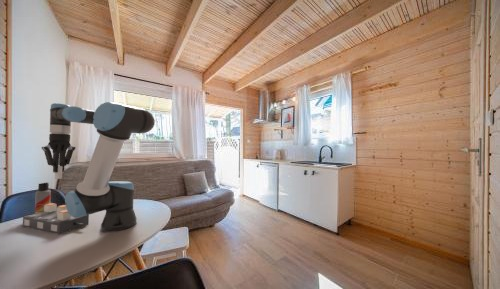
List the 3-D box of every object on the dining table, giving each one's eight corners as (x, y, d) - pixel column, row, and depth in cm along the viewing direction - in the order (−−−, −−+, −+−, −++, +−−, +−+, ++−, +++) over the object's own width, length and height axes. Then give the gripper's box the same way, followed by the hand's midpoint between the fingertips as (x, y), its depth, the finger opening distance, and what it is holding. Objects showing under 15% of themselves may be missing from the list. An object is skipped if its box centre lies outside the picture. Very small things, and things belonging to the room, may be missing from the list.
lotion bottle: (39, 219, 98) (40, 183, 99) (31, 218, 99) (33, 183, 100) (52, 216, 104) (53, 182, 104) (45, 215, 105) (46, 181, 105)
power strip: (96, 225, 93) (97, 214, 93) (67, 236, 81) (68, 224, 81) (53, 217, 101) (54, 208, 101) (21, 226, 90) (22, 216, 90)
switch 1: (70, 218, 88) (71, 210, 88) (63, 220, 85) (63, 212, 85) (65, 217, 89) (65, 209, 89) (57, 219, 86) (57, 211, 86)
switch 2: (69, 212, 96) (69, 205, 96) (61, 214, 93) (62, 207, 93) (63, 211, 97) (64, 204, 97) (56, 213, 94) (57, 206, 94)
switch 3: (56, 210, 98) (56, 203, 98) (49, 212, 95) (49, 205, 95) (51, 209, 99) (51, 202, 99) (44, 211, 96) (44, 204, 96)
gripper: (70, 134, 100) (68, 176, 100) (38, 132, 88) (35, 180, 87) (80, 134, 98) (78, 177, 98) (48, 132, 86) (46, 181, 85)
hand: (58, 178), depth 93 cm, fingers closed
